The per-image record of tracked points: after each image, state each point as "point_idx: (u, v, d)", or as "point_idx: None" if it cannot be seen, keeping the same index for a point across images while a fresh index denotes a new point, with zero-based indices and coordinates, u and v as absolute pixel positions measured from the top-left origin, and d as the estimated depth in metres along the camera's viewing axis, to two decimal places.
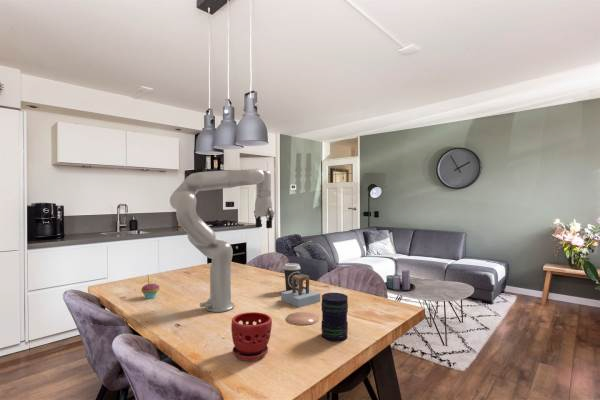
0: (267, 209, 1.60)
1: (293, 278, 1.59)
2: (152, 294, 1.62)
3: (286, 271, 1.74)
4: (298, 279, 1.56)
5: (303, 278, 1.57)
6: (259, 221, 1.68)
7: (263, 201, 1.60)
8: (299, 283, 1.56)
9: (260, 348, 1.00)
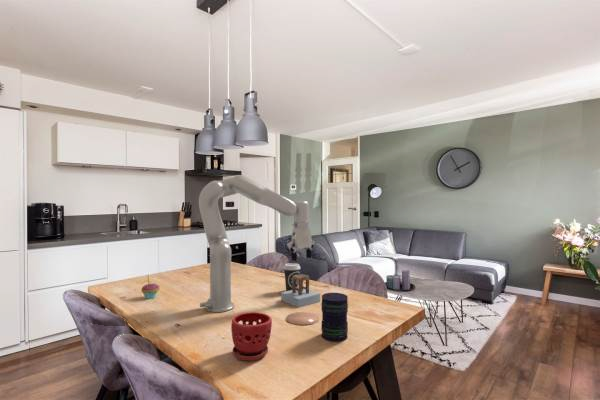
0: None
1: (293, 278, 1.59)
2: (152, 294, 1.62)
3: (286, 271, 1.74)
4: (298, 279, 1.56)
5: (303, 278, 1.57)
6: None
7: (309, 232, 1.60)
8: (299, 283, 1.56)
9: (260, 348, 1.00)
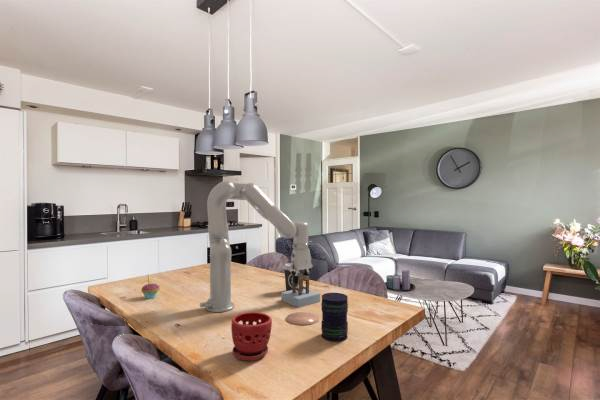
0: None
1: None
2: (152, 294, 1.62)
3: (286, 271, 1.74)
4: (298, 279, 1.56)
5: (303, 278, 1.57)
6: None
7: (308, 253, 1.60)
8: (299, 283, 1.56)
9: (260, 348, 1.00)
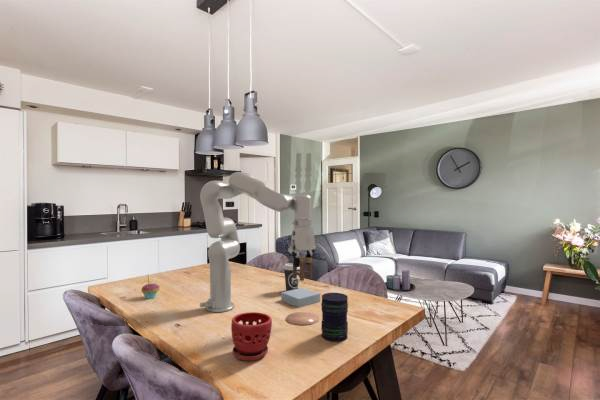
0: None
1: None
2: (152, 294, 1.62)
3: (286, 271, 1.74)
4: (299, 261, 1.32)
5: (305, 260, 1.33)
6: None
7: (312, 232, 1.36)
8: (301, 266, 1.32)
9: (260, 348, 1.00)
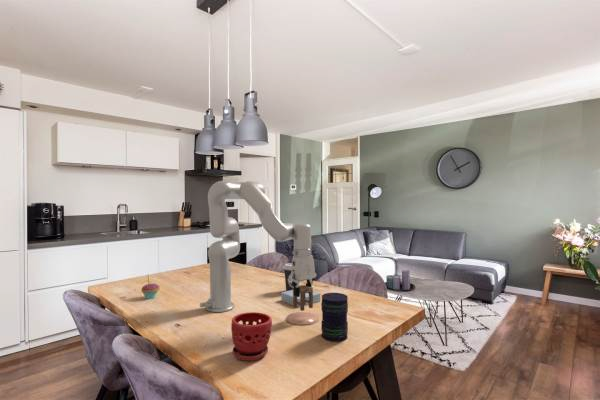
0: None
1: None
2: (152, 294, 1.62)
3: (286, 271, 1.74)
4: (300, 291, 1.32)
5: (306, 290, 1.33)
6: None
7: (312, 260, 1.36)
8: (301, 296, 1.31)
9: (260, 348, 1.00)
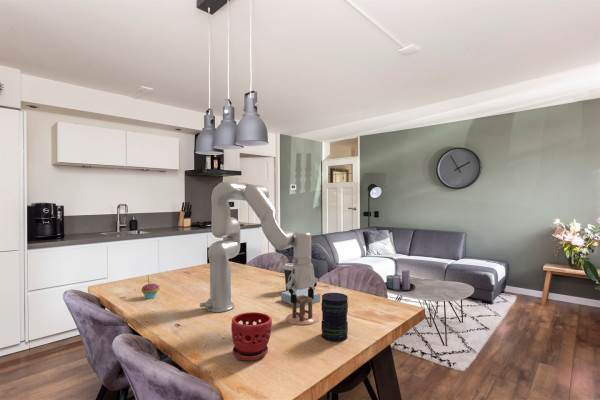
0: None
1: None
2: (152, 294, 1.62)
3: (286, 271, 1.74)
4: (299, 302, 1.32)
5: (305, 301, 1.33)
6: None
7: (311, 269, 1.36)
8: (300, 307, 1.32)
9: (260, 348, 1.00)
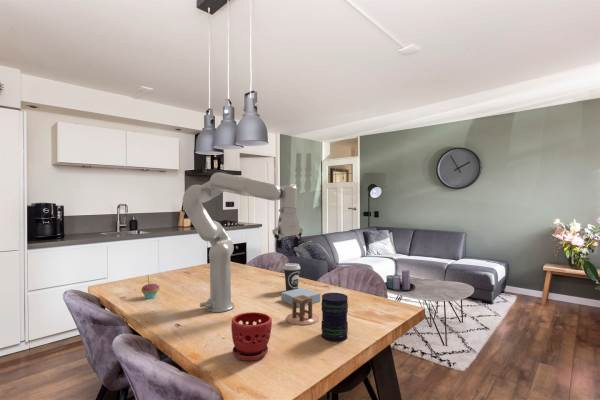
0: None
1: (293, 300, 1.35)
2: (152, 294, 1.62)
3: (286, 271, 1.74)
4: (299, 302, 1.32)
5: (305, 301, 1.33)
6: None
7: (296, 219, 1.50)
8: (300, 307, 1.32)
9: (260, 348, 1.00)
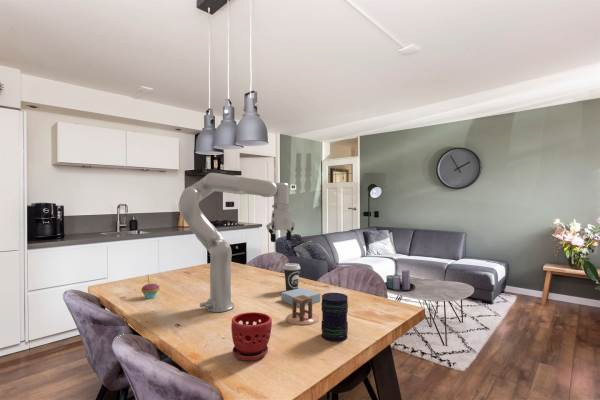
0: None
1: (293, 300, 1.35)
2: (152, 294, 1.62)
3: (286, 271, 1.74)
4: (299, 302, 1.32)
5: (305, 301, 1.33)
6: None
7: (289, 214, 1.59)
8: (300, 307, 1.32)
9: (260, 348, 1.00)
